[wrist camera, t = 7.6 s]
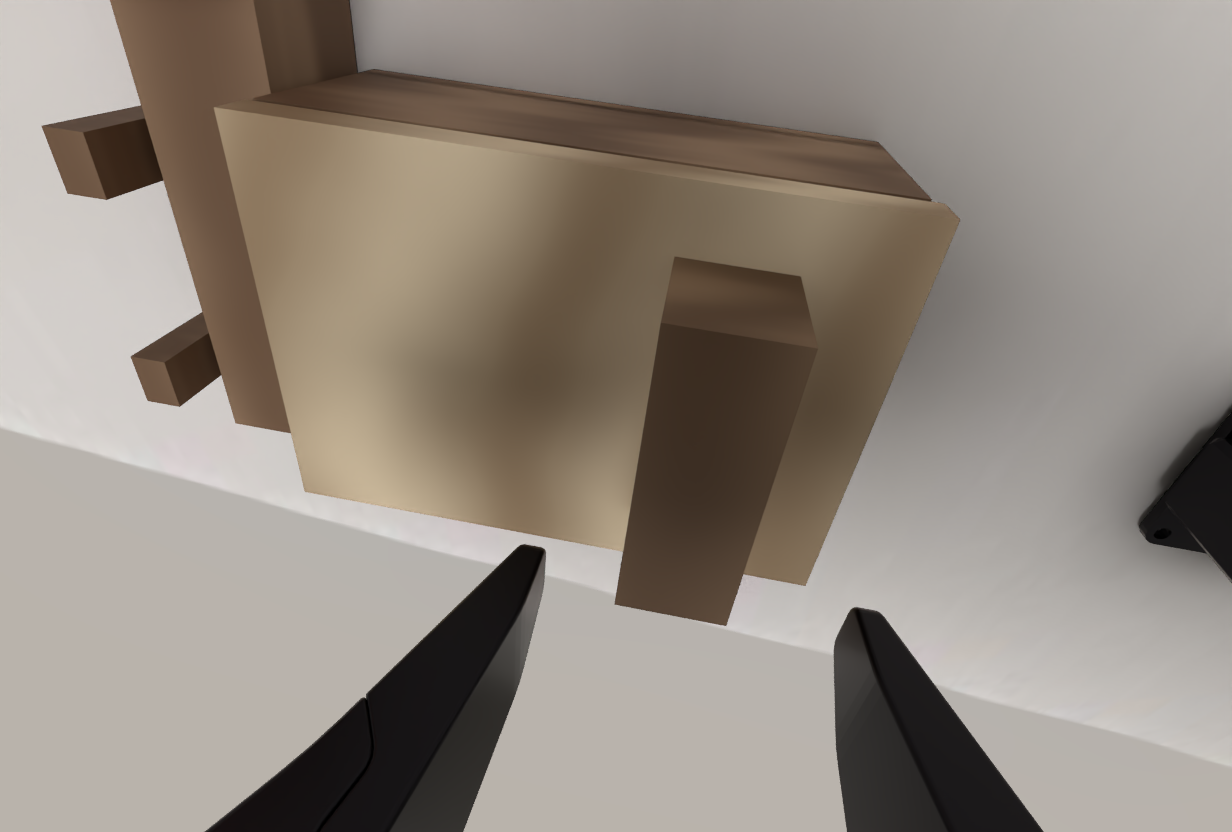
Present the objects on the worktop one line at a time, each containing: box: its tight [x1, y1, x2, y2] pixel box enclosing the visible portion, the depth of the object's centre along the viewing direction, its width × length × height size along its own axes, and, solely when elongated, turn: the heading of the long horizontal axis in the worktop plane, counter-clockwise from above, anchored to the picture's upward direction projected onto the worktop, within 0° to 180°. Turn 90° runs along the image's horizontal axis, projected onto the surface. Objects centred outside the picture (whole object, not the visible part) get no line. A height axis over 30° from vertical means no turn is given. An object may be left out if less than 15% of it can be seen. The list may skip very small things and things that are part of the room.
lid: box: [214, 100, 960, 626], centre depth 14 cm, size 14×10×4 cm
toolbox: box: [42, 0, 932, 433], centre depth 15 cm, size 19×21×6 cm
